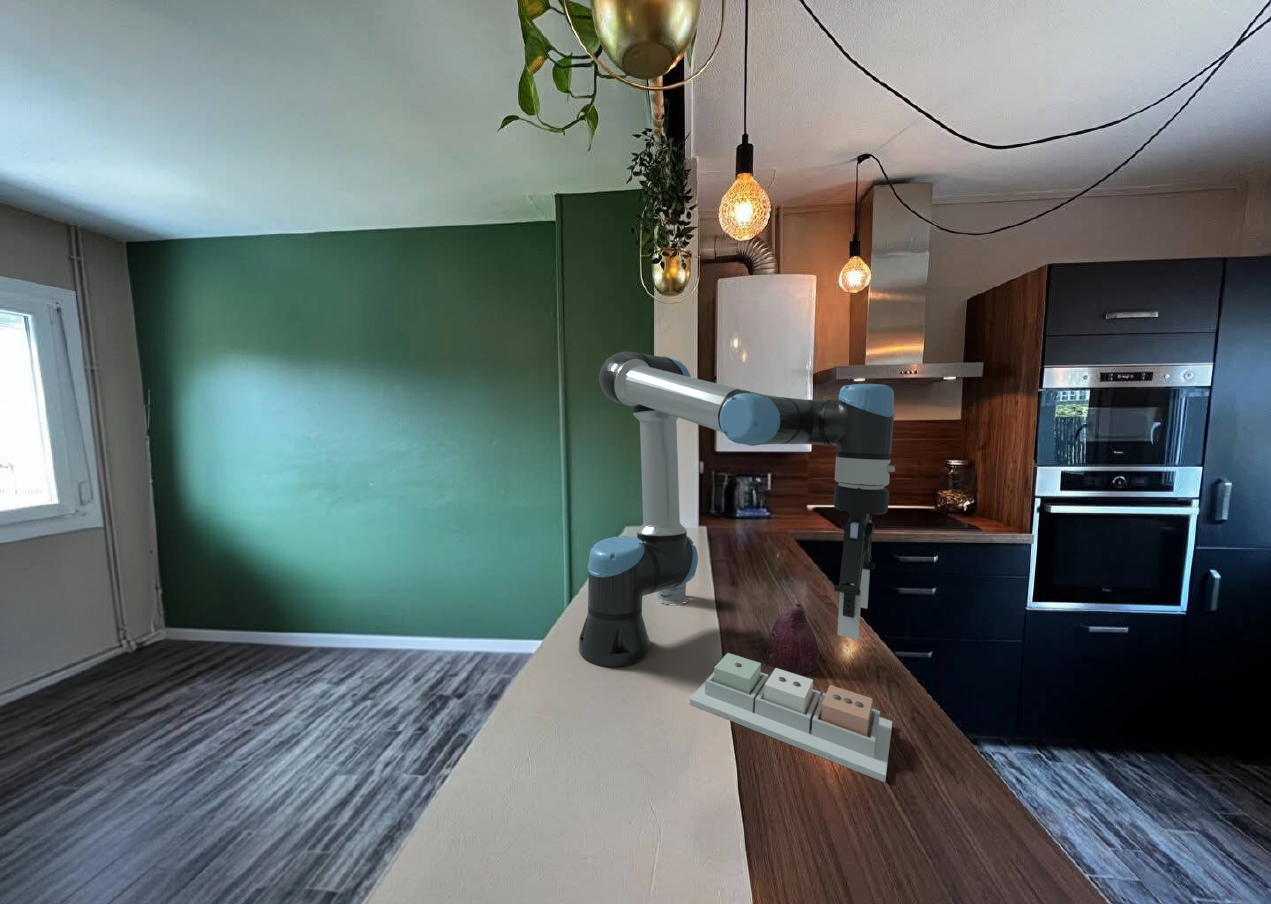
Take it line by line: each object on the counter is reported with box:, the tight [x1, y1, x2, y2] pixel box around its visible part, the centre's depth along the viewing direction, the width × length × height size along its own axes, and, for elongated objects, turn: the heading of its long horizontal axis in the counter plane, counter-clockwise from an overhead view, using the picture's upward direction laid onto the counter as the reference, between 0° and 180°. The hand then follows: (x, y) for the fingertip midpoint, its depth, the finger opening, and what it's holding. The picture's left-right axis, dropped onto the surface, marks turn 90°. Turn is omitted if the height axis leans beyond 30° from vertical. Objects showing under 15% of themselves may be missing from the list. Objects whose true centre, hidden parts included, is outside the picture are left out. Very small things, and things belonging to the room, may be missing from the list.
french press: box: [654, 570, 697, 604], centre depth 125 cm, size 10×12×25 cm
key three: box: [821, 684, 873, 737], centre depth 71 cm, size 6×6×3 cm
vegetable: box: [766, 602, 819, 675], centre depth 92 cm, size 10×10×15 cm
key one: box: [713, 652, 762, 695], centre depth 81 cm, size 6×6×3 cm
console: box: [688, 671, 893, 783], centre depth 76 cm, size 30×14×4 cm, turn 57°
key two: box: [764, 667, 814, 714], centre depth 76 cm, size 6×6×3 cm
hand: (853, 620), depth 70 cm, fingers open, 13 cm apart
